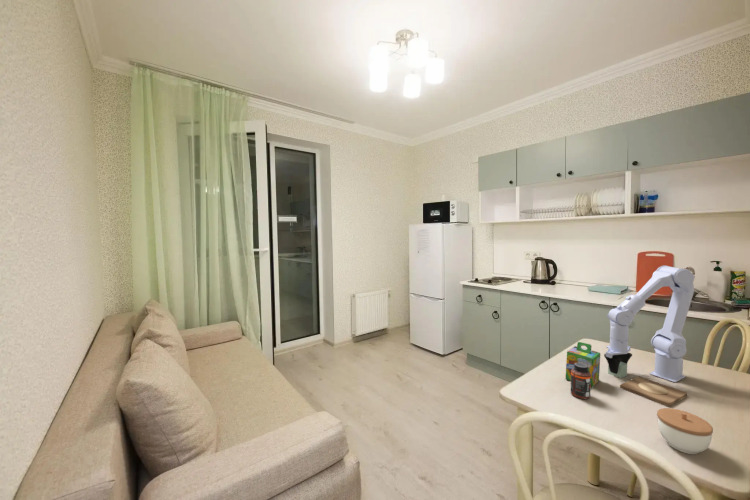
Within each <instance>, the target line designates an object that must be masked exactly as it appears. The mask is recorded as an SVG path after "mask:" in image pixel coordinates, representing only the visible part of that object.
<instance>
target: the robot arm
mask: <svg viewBox="0 0 750 500" xmlns="http://www.w3.org/2000/svg"><path fill="white" fill-rule="evenodd" d="M695 277H696V276H695V274H694V273H693V272H691V271H690V269H688V268H681V267H674V266H669V265H661V266H658V267H657V269H656V270H655V271H654V272H653V273H652V276H651V278H649V280H647V282H646V283H645V284H644V285H643V286H642V287H641V288H640V289H639V291H638V292H637V293H636V294H630V295H627V296H626V297H625V300H623V301H622V302H621V303H620V304H619V305H617V306H616V307H615V308H611V309H610V310H609V312H608V313H607V314H606V318H608V320H609V324H610V325H609V326H610V327H609V328H610V329H609V345H607V346H606V349H607V350H606V351H605V353H604V354H603V355H604V358H605V359H606V362H607V364H608V365H609V368H610V372H612V373H615V374H617V372H618V368H619V364H620V362H623V363H627V364H628V363H629V360H630V359H631V358H632V357H633V353H630V352H631V346H630V345H629V343H628V342H629V325H630V324H632V323H633V321H634V317H635V315H636V314H637V313H639V311H641V310H642V309H643V308H644V307H645V306H646V300H647V299H649V298H650V297H651V296H653V295H654V294H655V293H656V292H657V291H659V290H660V289H661V288H663V287H668V288H670V290H672V295H671V298H670V301H669V305H668V308H667V312H666V314H665V318H664V321H663V326H662V328H660V329H657V330H656V331H655V334H654V336H652V338H651V339H650V344H651V346H652V347H653V348H654V351H655V353H654V354H655V356H654V370H653V371H651V372H649V375H651V376H655V377H657V378H661V379H663V380H666V381H670V382H673V383H676V382H679V381H681V380H683V379H684V378H686V377H687V376H686V375H685V374H683V369H684V356H685V355H686V354H687V346H686V345H687V340H686V338H685V337H684V336H683V329H684V326H685V323H686V320H687V316H688V313H689V310H690V306H691V303H692V299H693V296H694V293H695V286H694V281H695Z"/></svg>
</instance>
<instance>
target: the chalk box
mask: <svg viewBox="0 0 750 500" xmlns="http://www.w3.org/2000/svg"><path fill="white" fill-rule="evenodd" d="M583 346H584V347H586V348H584V347H583ZM565 361H566V363H565V380H568V381H570V382H571V370H572V369H573V368H575V367H574V364H575V363H583V364H586V365H587V366H588V371H589V372H590V374H591V389H592V388H593V387H595V385H596V384H597V383H598V382H599V381H600V369H601V367H600V366H601V353H600V352H599V351H595V350H592V344H590V343H586V342H582V341H577V345H576V346H573V347H572V348H570V349H568V350H567V352H566V360H565Z"/></svg>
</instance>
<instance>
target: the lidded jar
mask: <svg viewBox="0 0 750 500" xmlns="http://www.w3.org/2000/svg"><path fill="white" fill-rule="evenodd" d="M656 416H657V417H656V418H657V426H658V430H659V433H660V435H661V436H662V438H663V439H664V440H665V441H666V442H667V444H668V445H669V447H672V448H673V449H675V450H677V451H679V452H681V453H685V454H689V455H697V454H699V453H702V452H704V451H705V450H707V449H708V448H709V447H710V444H711V442H712V438H713V433H714V432H713V431H714V428H713V426H712V425H711V424H710V423H709V422H708V421H707V420H705V419H703V418H702V417H700V416H698V415H696V414H693V413H691V412H687V411H684V410H682V409H676V408H671V407H664V408H663V407H662V408H660V409H658V410H657V411H656Z"/></svg>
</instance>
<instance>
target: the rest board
mask: <svg viewBox="0 0 750 500" xmlns="http://www.w3.org/2000/svg"><path fill="white" fill-rule="evenodd" d="M619 388H620V389H622V390H624V391H627V392H630V393H632V394H634V395H637V396H640V397H642V398H644V399H647V400H649V401H652V402H655V403H657V404H659V405H662V406H664V407H665V406H666V408H671V407H672V406H673V405H675V404H677V403H678V402H680V401H682V400H683V399H685V398H687V397H688V392H685V391H683V390H680V389H677V388H674V387H672V386H669V385H666V384H663V383H660V382H658V381H654V380H652V379H648V378H646V377H643V376H640V375H639V376H637V377H634V378H632V379H629V380H628V381H625V382H624V383H621V384H620V385H619Z"/></svg>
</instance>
